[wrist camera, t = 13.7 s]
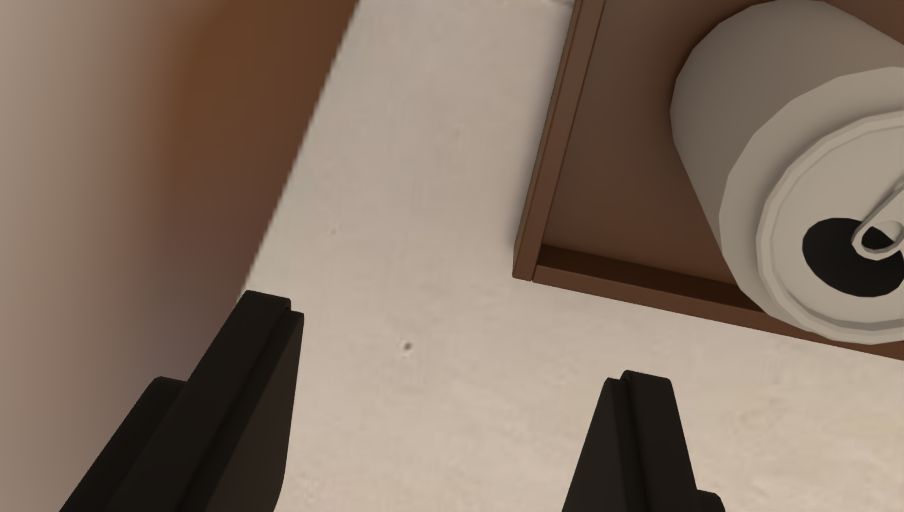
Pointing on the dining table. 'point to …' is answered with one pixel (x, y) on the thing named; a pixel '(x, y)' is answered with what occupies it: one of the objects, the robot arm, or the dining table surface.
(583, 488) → the robot arm
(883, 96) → the can
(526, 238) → the tray
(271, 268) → the dining table surface
